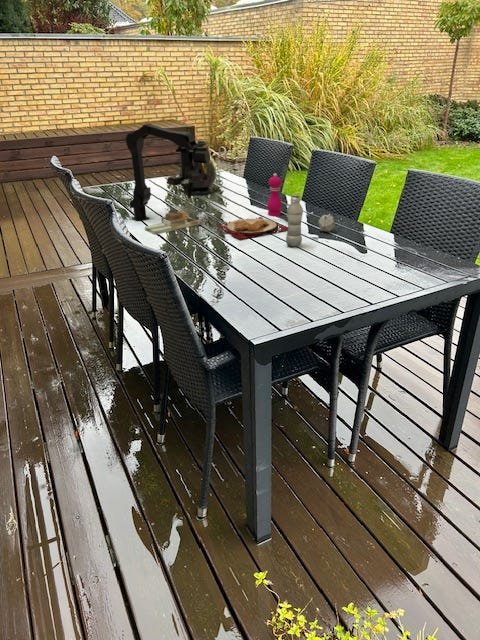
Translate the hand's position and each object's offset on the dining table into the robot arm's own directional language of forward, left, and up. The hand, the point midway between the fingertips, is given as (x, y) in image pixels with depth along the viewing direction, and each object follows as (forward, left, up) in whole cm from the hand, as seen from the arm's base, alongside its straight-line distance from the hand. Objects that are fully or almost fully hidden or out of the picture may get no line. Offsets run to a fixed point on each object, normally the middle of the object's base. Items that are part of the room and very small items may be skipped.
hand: (189, 197), depth 225 cm
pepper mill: (+16, +40, -12) cm, 44 cm away
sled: (0, -8, -10) cm, 13 cm away
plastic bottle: (+56, +14, -12) cm, 58 cm away
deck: (0, -10, -12) cm, 16 cm away
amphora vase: (-49, +39, -12) cm, 64 cm away
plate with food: (+26, +16, -13) cm, 32 cm away
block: (0, -10, -9) cm, 14 cm away
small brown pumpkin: (+52, +38, -12) cm, 65 cm away
